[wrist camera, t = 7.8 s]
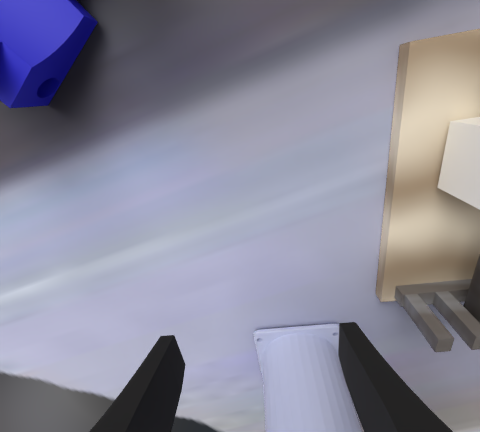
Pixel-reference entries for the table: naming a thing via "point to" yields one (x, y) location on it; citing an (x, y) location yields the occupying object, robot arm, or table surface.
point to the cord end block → (462, 161)
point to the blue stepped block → (39, 47)
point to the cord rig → (431, 192)
